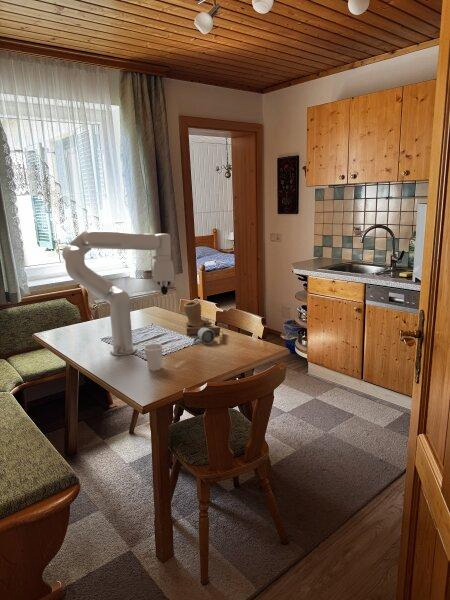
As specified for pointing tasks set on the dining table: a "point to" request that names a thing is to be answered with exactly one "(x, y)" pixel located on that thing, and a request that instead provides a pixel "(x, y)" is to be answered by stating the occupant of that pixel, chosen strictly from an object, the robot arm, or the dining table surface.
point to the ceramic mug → (205, 336)
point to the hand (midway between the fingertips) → (164, 294)
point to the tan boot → (195, 315)
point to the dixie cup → (153, 356)
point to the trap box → (217, 330)
